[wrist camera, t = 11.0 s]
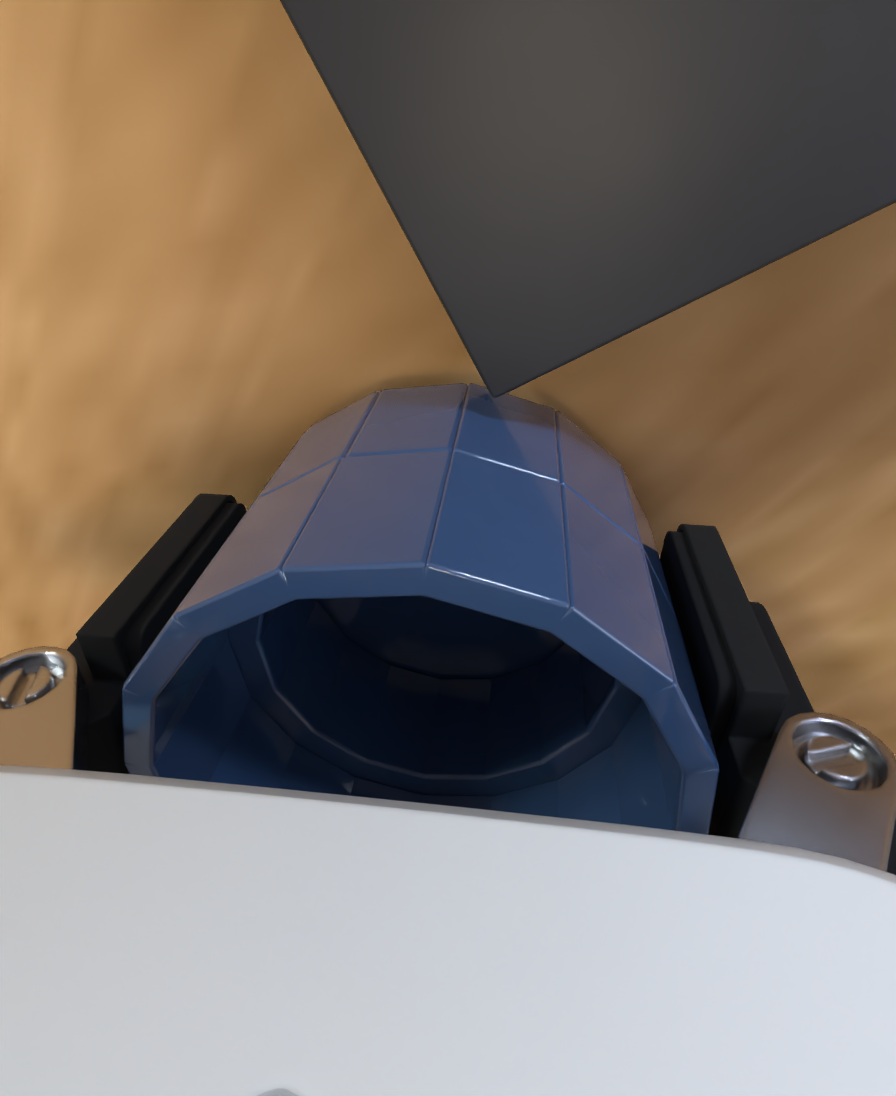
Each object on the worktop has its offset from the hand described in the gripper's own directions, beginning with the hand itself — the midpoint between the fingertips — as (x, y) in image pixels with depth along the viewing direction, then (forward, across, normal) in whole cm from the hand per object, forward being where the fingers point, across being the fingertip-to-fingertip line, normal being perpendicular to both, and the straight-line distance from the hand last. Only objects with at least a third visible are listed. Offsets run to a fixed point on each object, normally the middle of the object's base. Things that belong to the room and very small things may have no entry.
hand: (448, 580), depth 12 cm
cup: (+1, 0, 0) cm, 1 cm away
